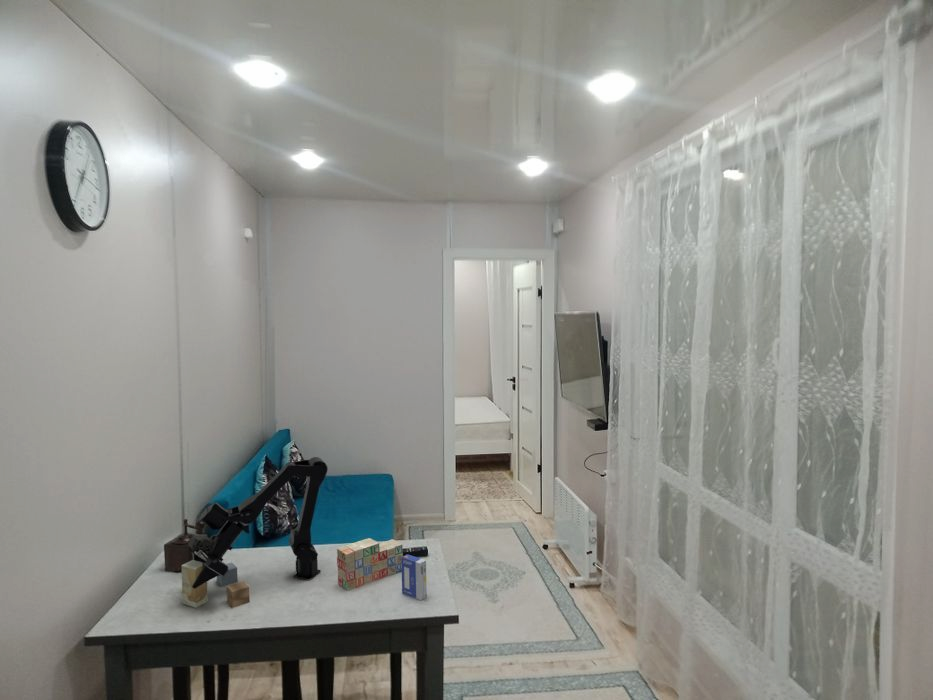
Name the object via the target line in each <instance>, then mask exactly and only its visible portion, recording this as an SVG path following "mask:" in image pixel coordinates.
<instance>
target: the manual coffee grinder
mask: <svg viewBox="0 0 933 700" xmlns="http://www.w3.org/2000/svg"><path fill="white" fill-rule="evenodd" d="M194 523H195V524H194V525H192V524H189V523H188V519H187V518H185V519H183V525H182V526H184V527H183V529H184V532H183V533H181V534H179V535H177V536H175V537H174V538H172V539H171V540H169V541H167V542H166V543H164V544H163V550H164V551H163V553H164V554H163V555H164V568H165V569H164V572H171V573H172V572H174V573H182V565H183V564H185V563H187V562H190V561H192V560H193V556H192V552H195V551H193V550H192V549H191V547H190V546H188V545H189V543H190V540H191V538H192V536H193V535H196V536H202V537H206V538H209V537H208V534H205V529H206V528H207V527H208V526H207V525H205V524H204V523H203V522H201V521H200V520H199V519H198V520H197V521H196V522H194ZM188 528H189V529H194V530H196V531H195V533H192V532H189V531H188ZM206 560H207V559H206Z"/></svg>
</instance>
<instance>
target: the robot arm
mask: <svg viewBox="0 0 933 700" xmlns="http://www.w3.org/2000/svg"><path fill="white" fill-rule="evenodd" d="M328 469H329V467H328V465H327V464H326V463H325V461H324V460H323V459H322V458H320V457H319V456H314V457H313V456H312V457H311V458H310V459H302V460H297V461H289V462H286V463H285V464H284V466H283V467H282V468H281V469H280V470H279V471H278V472H277V473H276V474H275V475H273V477H272V478H271V479H270V480H269V481H268V482H266V484H265V485H264V486H262V488H261V489H260V490H258V492H256V493H255V494H253V495H250V497H248V498H246V499H245V500H244V501H242V502H240V503H239V504H238V505H236V506H233V507H230V508H227V509H226V508H224V507H223V506H221V505H220V504H219V503H218V502H216V501H214V502H213V503H212V504H210V505H208V507H206V508H205V509H204V510H203V511H202V513H201V514H200V516H199V518H198V520H200V521H201V522H203V523H204V524H205V525H207V526H206V527H209V528H210V529H211V530H213V531H215V530H219V531H218V532H217V533H216V534H212V535H211V536H210V537H208V538H206V537H202V536H196V535H193V536H192V538H191V540H190V543H189V545H188V546H190V547H191V549H192V550H193V551H195V552H192V556H193V560H195V561H199V562H202V571H201V573H200V574H199V576H198V577H197V579H196V580H195V582H194V584H193V585H192V588H194V589H195V588H197V587H199V586H200V585H202V584H204V583H205V582H207V583H208V581H210V580H213V579H215V578H217V576H220V574H221V575H222V576H224V575H225V574H226V573H227V572H228V566H227V565H226V564H227V563H226V562H224V558H223V557H224V556H225V554H227V552H228V550H229V551H232V550H233V546H232V545H233V544H234V543H235V541H236V540H237V539H238V538H239V536H240V535H241V534H242V533H243V532H244V533H245V534H248V535H249V534H250V524H253V523H254V522H255V521H256V520H257V518H258V517H259V516H260V515H261V513H262V512H263V509H264V508H265V506H266V505H267V503H268V502H269V501H270V500H271V499H272V498H273V497H274V496H275V495H276V494H277V493H278V492H279V491H280V490H281V489H282V488H284V486H285V485H287V483H288V482H289V481H290V480H291V479H292V478H293V477H306V487H305V491H304V495H303V501H302V506H301V509H300V514H299V518H298V519H299V520H298V523H297V526H296V528H295V529H290V536H289V538H288V543H289V545H290V548H291V551H292V552H293V554H294V556H296V560H295V574H294V575H293V577H294V578H296V579H297V578H298V579H302V580H308V581H310V580H312V579H313V578H314V577H316V576H317V575H319V574H320V573H321V572H322V571H321V569H318V567H319V566H318V555H319V554H318V552H317V549H316V548H315V546H314V544H313V543H312V532H311V527H312V523H313V519H314V513H315V509H316V506H317V505H316V504H317V500H318V496H319V490H320V487H321V485H322V484H323V483H324V480H325V478H326V477H327V473H328ZM206 559H207V560H206ZM204 563H205V564H206V565H205V564H204Z"/></svg>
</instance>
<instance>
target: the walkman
mask: <svg viewBox="0 0 933 700" xmlns="http://www.w3.org/2000/svg"><path fill="white" fill-rule="evenodd" d="M401 560H402V571H401V593H402V594H404V595H405V596H409V597H411V598H413V599H415V600H416V599H417V600H419V601H422V600H423V599H426V598H427V597H428V596H427V595H428V593H427V592H428V591H427V590H428V589H427V560H426V559H423V558H420V557H417V556H414V555H410V554H408V553H407V554H405V555H403V557H401Z"/></svg>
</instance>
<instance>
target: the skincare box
mask: <svg viewBox="0 0 933 700" xmlns="http://www.w3.org/2000/svg"><path fill="white" fill-rule="evenodd" d="M204 564H205V563H204ZM205 565H206V564H205ZM201 571H202V562H199V561H195V560H192V561H190V562H187V563H185V564H183V565H182V572H181V590H182V592H181V593H182V596H181V598H182V604H184V605H187V606H189V607H193V608H195V609H196V608H199V607H200V606H202V605H204V604H205V603H207V602H208V581H207V582H205V583H204V584H202V585H200V586H199V587H197V588H195V589H194V588H192V585H193V584H194V582H195V580H196V579H197V577H198V576H199V574H200V573H201Z"/></svg>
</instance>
